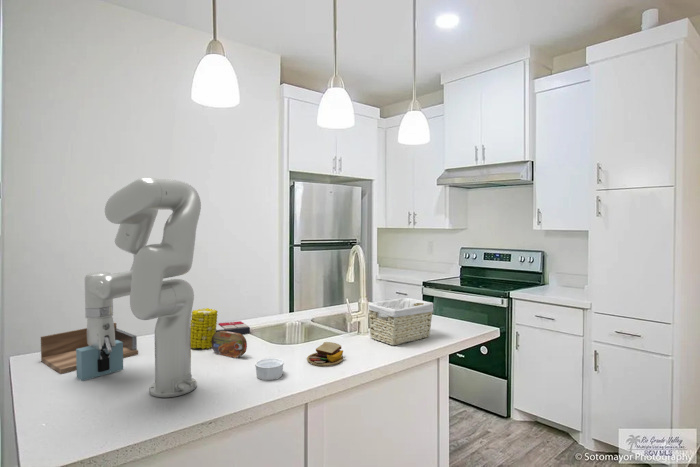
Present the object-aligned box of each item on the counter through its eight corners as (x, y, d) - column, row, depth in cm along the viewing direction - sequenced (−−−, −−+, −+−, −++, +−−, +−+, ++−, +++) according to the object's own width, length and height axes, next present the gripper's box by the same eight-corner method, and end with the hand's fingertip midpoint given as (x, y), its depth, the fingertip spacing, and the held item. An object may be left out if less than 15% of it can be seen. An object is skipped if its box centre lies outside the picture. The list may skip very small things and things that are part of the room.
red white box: (250, 325, 178) (214, 329, 169) (249, 335, 178) (214, 339, 169) (241, 320, 187) (207, 323, 178) (240, 330, 187) (206, 333, 178)
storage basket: (406, 329, 187) (407, 296, 186) (435, 337, 174) (435, 302, 173) (366, 338, 172) (366, 303, 171) (393, 348, 159) (394, 310, 159)
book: (123, 369, 136) (122, 342, 135) (81, 381, 126) (81, 351, 126) (117, 366, 138) (117, 339, 138) (76, 377, 129) (76, 348, 128)
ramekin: (253, 372, 134) (253, 359, 134) (280, 369, 137) (280, 356, 137) (257, 383, 126) (257, 369, 125) (286, 379, 129) (286, 365, 129)
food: (184, 351, 159) (209, 346, 166) (200, 350, 151) (225, 345, 159) (181, 310, 161) (205, 308, 168) (197, 308, 153) (221, 305, 161)
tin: (210, 353, 152) (210, 330, 152) (217, 350, 155) (217, 328, 155) (242, 360, 145) (242, 336, 145) (248, 357, 148) (248, 333, 148)
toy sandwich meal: (299, 362, 144) (299, 348, 144) (325, 352, 155) (325, 339, 155) (326, 370, 137) (326, 356, 136) (352, 359, 147) (352, 346, 147)
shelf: (138, 354, 150) (137, 330, 150) (60, 374, 131) (60, 347, 131) (115, 344, 161) (115, 322, 161) (41, 361, 142) (40, 336, 142)
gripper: (124, 313, 129) (125, 371, 130) (100, 306, 139) (101, 360, 140) (97, 318, 123) (98, 379, 124) (75, 310, 134) (76, 366, 134)
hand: (100, 368), depth 132 cm, fingers closed on book, 4 cm apart
